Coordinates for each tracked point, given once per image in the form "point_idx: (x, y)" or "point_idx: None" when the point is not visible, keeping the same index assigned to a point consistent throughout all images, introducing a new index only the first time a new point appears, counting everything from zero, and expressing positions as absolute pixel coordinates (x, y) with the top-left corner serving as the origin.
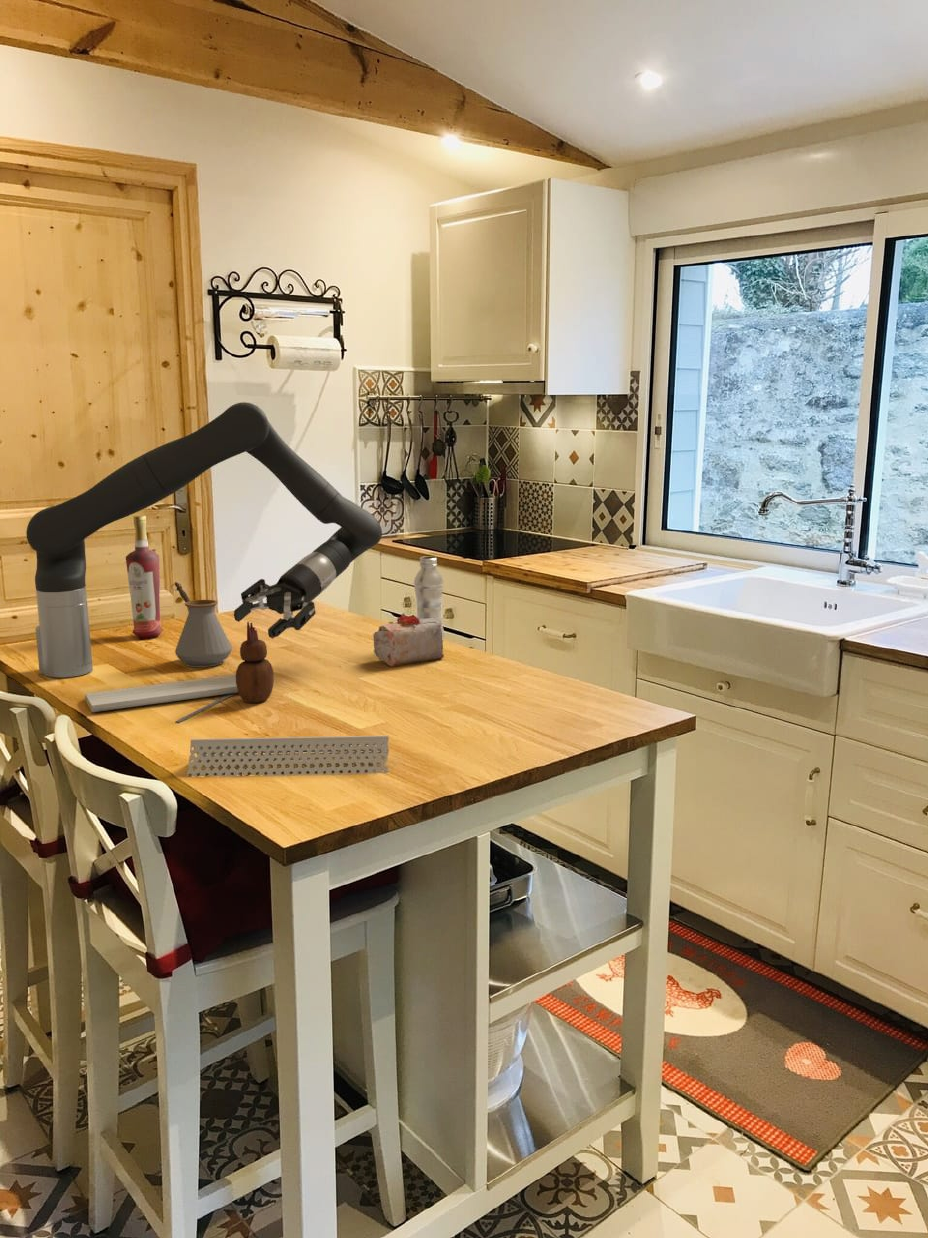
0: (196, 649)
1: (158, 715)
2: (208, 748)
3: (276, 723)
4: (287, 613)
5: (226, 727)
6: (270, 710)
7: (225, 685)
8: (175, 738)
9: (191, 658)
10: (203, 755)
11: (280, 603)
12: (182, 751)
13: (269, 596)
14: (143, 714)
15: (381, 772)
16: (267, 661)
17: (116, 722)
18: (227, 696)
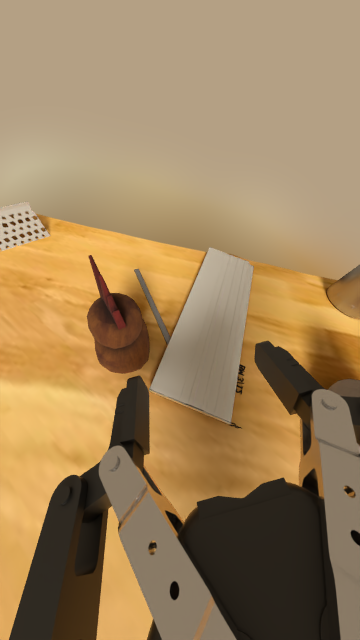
0: (343, 392)
1: (168, 273)
2: (24, 219)
3: (38, 313)
4: (123, 489)
5: (84, 282)
6: (80, 339)
7: (181, 341)
8: (104, 250)
9: (330, 386)
10: (41, 231)
11: (214, 531)
12: (74, 238)
13: (323, 524)
14: (180, 269)
15: None
16: (101, 348)
17: (177, 252)
18: (167, 339)
